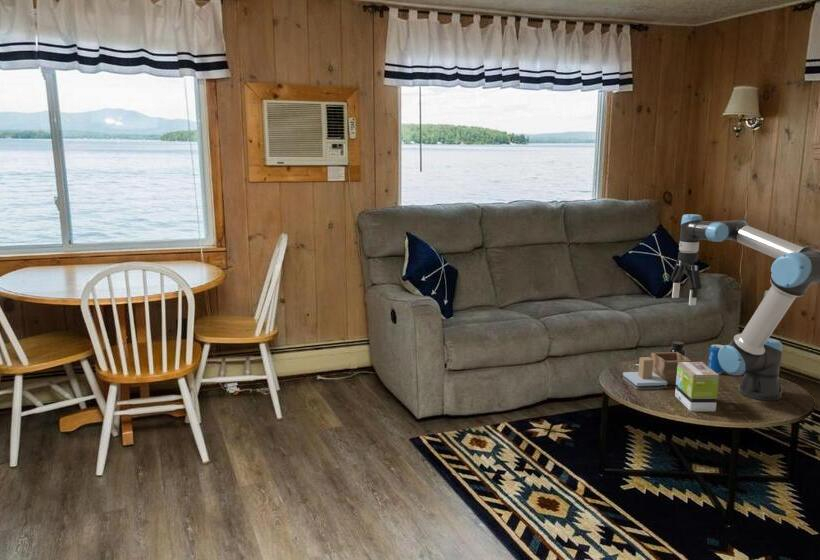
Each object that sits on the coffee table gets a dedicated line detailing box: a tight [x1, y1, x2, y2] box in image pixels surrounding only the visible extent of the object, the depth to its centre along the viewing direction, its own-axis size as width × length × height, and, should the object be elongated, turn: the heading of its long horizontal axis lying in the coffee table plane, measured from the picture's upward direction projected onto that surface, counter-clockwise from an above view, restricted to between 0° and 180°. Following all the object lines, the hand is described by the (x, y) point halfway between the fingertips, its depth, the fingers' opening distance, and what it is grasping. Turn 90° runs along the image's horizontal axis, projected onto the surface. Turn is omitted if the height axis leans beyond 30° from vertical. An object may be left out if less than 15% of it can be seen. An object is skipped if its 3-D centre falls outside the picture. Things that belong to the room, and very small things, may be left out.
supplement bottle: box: [668, 341, 687, 357], centre depth 286 cm, size 7×7×12 cm
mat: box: [622, 376, 668, 390], centre depth 268 cm, size 13×13×1 cm
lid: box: [622, 356, 668, 386], centre depth 267 cm, size 13×13×10 cm
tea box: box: [674, 361, 720, 412], centre depth 245 cm, size 15×10×15 cm
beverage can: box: [707, 343, 725, 375], centre depth 281 cm, size 6×6×12 cm
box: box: [650, 351, 693, 385], centre depth 272 cm, size 12×12×10 cm
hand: (683, 301), depth 272 cm, fingers open, 13 cm apart
